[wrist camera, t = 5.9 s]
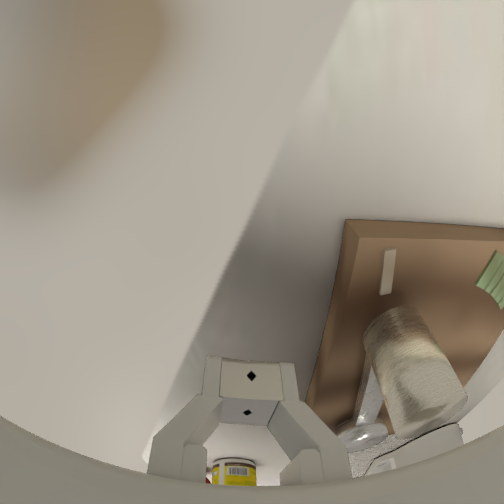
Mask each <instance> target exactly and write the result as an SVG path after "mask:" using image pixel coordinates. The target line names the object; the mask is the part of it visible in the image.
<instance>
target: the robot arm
mask: <svg viewBox="0 0 504 504" xmlns="http://www.w3.org/2000/svg"><path fill="white" fill-rule="evenodd" d="M220 423H234V424H250V425H265V426H267V427H268V429H269V430H270V432H271V433H272V434H273V436H274V437H275V439H276V440H277V442H278V443H279V444H280V446H281V447H282V449H283V450H284V451H285V453H286V454H287V456H288V457H289V458H290V460H291V462H290V464H289V465H288V466H287V467H286V468H285V469H284V470H283V471H282V472H281V473H280V486H235V485H219V484H208V483H206V466H207V449H206V448H205V447H203V446H202V445H203V444H204V443H205V441H206V440H207V439H208V438H209V436H210V435H211V434H212V433H213V431H214V430H215V429H216V428H217V426H218V425H219V424H220ZM462 434H463V430H462V428H459V424H451V425H448V426H445V427H442V428H440V429H437V430H435V431H433V432H431V433H428V434H426V435H424V436H422V437H420V438H418V439H416V440H414V441H412V442H410V443H408V444H406V445H405V446H403V447H401V448H399V449H397V450H395V451H393V452H391V453H388V454H386V455H383V456H381V457H379V458H377V459H375V460H374V461H373V463H372V465H371V466H370V468H369V469H368V471H367V472H366V474H365V475H364V476H361V477H356V478H352V473H351V468H350V463H349V458H348V453H347V448H346V445H345V444H344V443H343V442H342V441H341V440H340V439H339V438H338V437H337V436H336V435H335V434H334V433H333V432H332V431H331V430H330V429H329V428H328V426H327V425H326V424H325V423H324V422H323V421H322V420H321V419H320V418H319V417H318V416H317V415H316V414H315V413H314V412H313V411H312V410H311V408H310V407H309V406H308V405H307V404H306V403H305V402H302V401H300V398H299V391H298V385H297V379H296V372H295V366H294V364H293V363H278V362H266V361H251V360H250V361H246V360H238V359H230V358H223V357H215V356H207V358H206V363H205V371H204V380H203V388H202V395H198V394H197V395H196V396H195V397H194V398H193V399H192V400H191V401H190V402H189V403H188V404H187V405H186V406H185V407H184V408H183V409H182V410H181V411H180V412H179V413H178V414H177V415H176V416H175V417H174V418H173V419H172V420H171V421H170V422H169V423H168V424H167V425H166V426H165V427H163V428H162V429H161V430H160V431H159V432H158V433H157V434H156V435H155V436H154V437H153V442H152V448H151V453H150V458H149V464H148V470H147V474H145V473H142V472H137V471H133V470H129V469H126V468H121V467H118V466H114V465H111V464H108V463H105V462H102V461H99V460H96V459H93V458H89V457H87V456H84V455H81V454H79V453H76V452H73V451H71V450H68V449H66V448H63V447H61V446H59V445H56V444H54V443H52V442H49V441H47V440H45V439H43V438H41V437H39V436H37V435H35V434H33V433H31V432H29V431H27V430H25V429H23V428H21V427H19V426H17V425H16V424H14V423H12V422H10V421H9V420H7V419H5V418H4V417H2V416H0V504H504V426H501V427H499V428H497V429H495V430H493V431H491V432H489V433H488V434H486V435H484V436H482V437H479V438H477V439H475V440H473V441H471V442H469V443H467V444H465V445H464V444H463V440H462V437H461V435H462Z"/></svg>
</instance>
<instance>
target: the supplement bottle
mask: <svg viewBox="0 0 504 504" xmlns="http://www.w3.org/2000/svg"><path fill="white" fill-rule="evenodd" d="M212 484H219V485H235V486H257V485H256V466H255V464H254V463H253V462H251V461H249V460H245V459H236V458H229V459H221V460H218V461H216V462H215V463H214V464H213V472H212Z"/></svg>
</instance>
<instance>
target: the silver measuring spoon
mask: <svg viewBox="0 0 504 504" xmlns="http://www.w3.org/2000/svg"><path fill="white" fill-rule="evenodd" d="M363 345H364V348H365V350H366V358H365V364H364V369H363V374H362V378H361V383H360V388H359V392H358V397H357V401H356V405H355V409H354V413H353V417H352V418H350V419H348V420H346V421H344V422H342V423H341V424H339V425H338V426H337V427H336V428H335V429H334V431H333V433H334V434H335V435H336V436H337V437H338V438H339V439H340V440H341V441H342V442H343V443H344V444H345V445H346V448H347V453H352V452H357V451H361V450H365V449H367V448H370V447H372V446H375V445H377V444H378V443H380V442H382V441H383V440H384V439H385V438H386V437H387V436H388V431H387V428H386V424H385V421H384V418H383V415H382V414H380V413H379V410H380V408H381V405H382V403H383V400H384V402H385V405H386V408H387V410H388V413H389V416H390V419H391V422H392V425H393V429H394V432H395V435H396V437H397V438H398V439H408V438H413V437H416V436H419V435H422V434H424V433H426V432H428V431H430V430H432V429H434V428H436V427H438V426H440V425H441V424H443V423H444V422H446V421H447V420H449V419H450V418H451V417H452V416H454V415H455V414H456V413H457V412H458V411H459V410H460V409H461V408H462V407H463V406H464V404H465V403H466V401H467V398H468V396H467V394H466V392H465V390H464V388H463V386H462V385H461V383H460V381H459V379H458V377H457V375H456V373H455V372H454V370H453V368H452V366H451V364H450V363H449V361H448V359H447V357H446V356H445V354H444V352H443V350H442V349H441V347H440V345H439V344H438V342H437V340H436V339H435V337H434V335H433V334H432V332H431V330H430V329H429V327H428V326H427V324H426V322H425V321H424V319H423V318H422V316H421V315H420V313H419V312H418V310H417V309H415V308H414V307H411V306H398V307H395V308H392V309H389V310H387V311H385V312H384V313H382V314H381V315H379V316H378V317H377V318H375V319H374V320H373V321H371V323H370V325H369V326H368V327H367V329H366V331H365V332H364V335H363Z"/></svg>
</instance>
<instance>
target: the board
mask: <svg viewBox="0 0 504 504" xmlns="http://www.w3.org/2000/svg"><path fill="white" fill-rule="evenodd" d="M398 306H411V307H414V308H415V309H417V310H418V312H419V313H420V315H421V316H422V318H423V319H424V321H425V322H426V324H427V326H428V327H429V329H430V330H431V332H432V334H433V335H434V337H435V339H436V340H437V342H438V344H439V345H440V347H441V349H442V350H443V352H444V354H445V356H446V357H447V359H448V361H449V363H450V364H451V366H452V368H453V370H454V372H455V373H456V375H457V377H458V379H459V381H460V383H461V385H462V386H463V387H464V386H465V385H466V383H467V382H468V381H469V380H470V378H471V377H472V376H473V374H474V373H475V372H476V370H477V369H478V367H479V366H480V365H481V363H482V362H483V360H484V359H485V357H486V356H487V354H488V353H489V351H490V350H491V348H492V347H493V345H494V344H495V342H496V340H497V339H498V337H499V335H500V334H501V332H502V330H503V329H504V229H500V228H489V227H477V226H465V225H451V224H436V223H419V222H400V221H378V220H352V219H346V220H345V227H344V233H343V240H342V246H341V252H340V257H339V263H338V268H337V274H336V279H335V284H334V289H333V294H332V298H331V303H330V308H329V312H328V317H327V321H326V325H325V330H324V334H323V338H322V342H321V346H320V350H319V354H318V358H317V361H316V365H315V369H314V372H313V376H312V380H311V383H310V387H309V390H308V393H307V397H306V400H305V403H306V404H307V405H308V406H309V407H310V408H311V410H312V411H313V412H314V413H315V414H316V415H317V416H318V417H319V418H320V419H321V420H322V421H323V422H324V423H325V424H326V425H327V426H328V428H329V429H330V430H331V431H332V432H333V431H334V429H335V428H336V427H337V426H338V425H339V424H341V423H342V422H344V421H346V420H348V419H350V418H352V417H353V413H354V409H355V405H356V401H357V397H358V392H359V388H360V383H361V378H362V374H363V369H364V364H365V358H366V350H365V348H364V345H363V335H364V332H365V331H366V329H367V327H368V326H369V325H370V323H371V321H373V320H374V319H375V318H377V317H378V316H379V315H381V314H382V313H384V312H385V311H387V310H389V309H392V308H395V307H398ZM379 413H380V414H382V415H383V418H384V421H385V424H386V428H387V431H388V435H391V434H395V432H394V429H393V425H392V422H391V419H390V416H389V413H388V410H387V408H386V405H385V402H384V400H383V403H382V405H381V408H380V410H379Z"/></svg>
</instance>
